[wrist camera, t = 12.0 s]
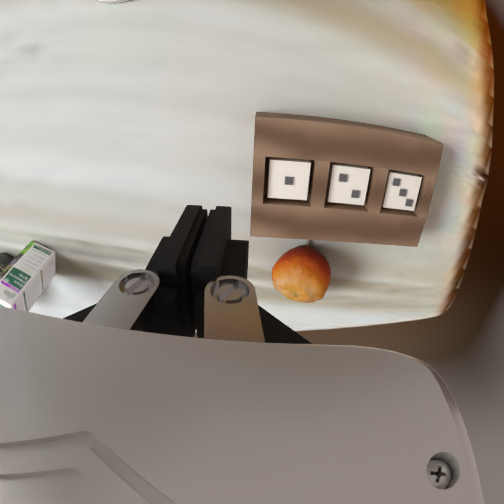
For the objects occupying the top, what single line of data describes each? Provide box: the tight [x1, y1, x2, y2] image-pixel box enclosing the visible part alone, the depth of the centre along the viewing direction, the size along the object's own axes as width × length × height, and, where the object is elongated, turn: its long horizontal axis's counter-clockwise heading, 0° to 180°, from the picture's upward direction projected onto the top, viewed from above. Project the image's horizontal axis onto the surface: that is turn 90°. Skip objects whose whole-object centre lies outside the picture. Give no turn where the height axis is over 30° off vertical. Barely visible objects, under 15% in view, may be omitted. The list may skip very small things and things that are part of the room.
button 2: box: [326, 162, 370, 205], centre depth 35 cm, size 4×4×2 cm
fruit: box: [272, 239, 331, 303], centre depth 42 cm, size 8×8×8 cm
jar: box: [0, 253, 14, 274], centre depth 46 cm, size 10×10×8 cm
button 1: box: [267, 157, 311, 200], centre depth 35 cm, size 4×4×2 cm
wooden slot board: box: [250, 112, 443, 247], centre depth 35 cm, size 14×22×5 cm, turn 88°
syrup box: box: [0, 241, 56, 312], centre depth 40 cm, size 6×6×14 cm
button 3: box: [381, 169, 422, 211], centre depth 34 cm, size 4×4×2 cm
